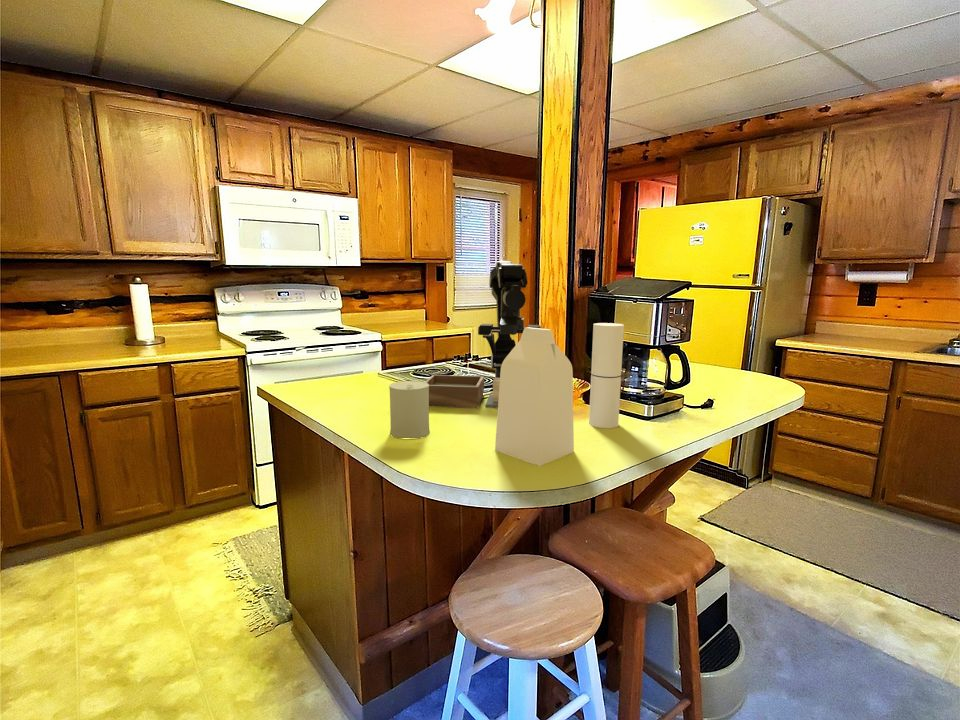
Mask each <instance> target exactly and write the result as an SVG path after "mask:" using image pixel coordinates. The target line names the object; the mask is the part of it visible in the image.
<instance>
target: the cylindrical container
mask: <svg viewBox="0 0 960 720" xmlns="http://www.w3.org/2000/svg"><path fill="white" fill-rule="evenodd" d="M624 328H625V325H624V324H623V323H615V322H614V323H613V322H609V323H608V322H597V323H593V329H592V347H591V348H592V349H591V350H592V351H591V373H590V374H591V375H590V395H589V412H588V413H589V414H588V416H589V417H588V423H589V424H588V425H590V426H592V427H595V428H600V429H614V428H617V427H618V426H619V422H620V421H619V418H620V417H619V416H620V402H621V401H620V399H621V383H622V368H623V367H622V364H623V350H624V349H623V347H624V333H625V331H624V330H625V329H624Z"/></svg>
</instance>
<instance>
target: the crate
mask: <svg viewBox="0 0 960 720" xmlns="http://www.w3.org/2000/svg"><path fill="white" fill-rule="evenodd" d="M424 382H425V383H428V384H429V407H434V408H435V407H436V408H460V409H462V408H463V409H465V408H466V409H479V406H480V405H481V402H482V400H483V398H484V396H483V392H484V393H485V376H484V375H483V376H481V375H479V376H478V375H477V376H476V375H450V374H449V375H447V374H431V376H430V377H428V379H426V380H425V381H424ZM482 397H483V398H482Z"/></svg>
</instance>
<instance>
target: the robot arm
mask: <svg viewBox="0 0 960 720" xmlns="http://www.w3.org/2000/svg"><path fill="white" fill-rule="evenodd" d="M488 281H489V282H488V283H489V289H491V290H490V291H491V296H492V297H493V298H494V299H495V300H496V301H495V303H496V325H497V326H494V324H493V323H481V324H480V325H479V326H477V327H478V328H477V335H479V336H482V338H484V339H486V341H487V343H488V345H489V347H490V351H491V354H490V367H491V369H494V370H495V371H494V372H495V373H494V374H495V375H494V378H500V371H501V365H502V363H503V361H504V359H505V358H506V357H507V355H508V354H509V353H510V352H511V351H512V349H513V348H514V347H515V346H516V344H517V343H516V340H515V339H513V338H512V336H515V335H516V334H522V333H523V331H524V328H526V327H525V323H524V322H525V321H524V319H525V318H524V317H521V309H522V308H523V307H524V306H525V304H526V295H525V294H524V292H523V291H522V289H526V288H527V286H528V275H527V271H526V268H525V267H524V266H523V264H522V263H513V261H510V260H498V261H496V264H495V267H494V268H492V269H491V270H490V273H489V279H488ZM527 327H531V328H541V329H543V328H542V326H541V325H539V324H528V325H527ZM495 333H497V339H496V341H495Z"/></svg>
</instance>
